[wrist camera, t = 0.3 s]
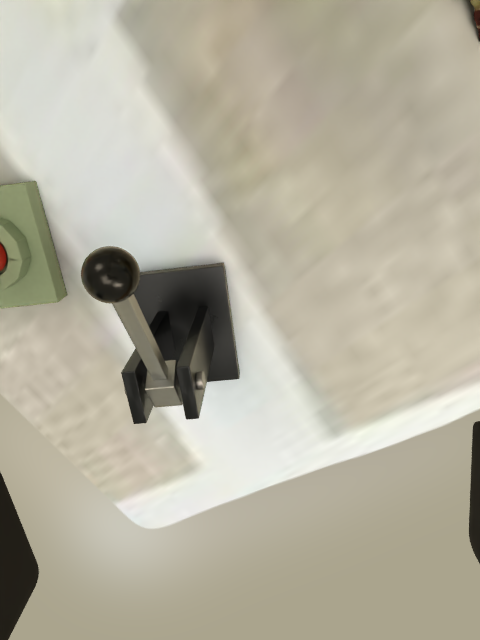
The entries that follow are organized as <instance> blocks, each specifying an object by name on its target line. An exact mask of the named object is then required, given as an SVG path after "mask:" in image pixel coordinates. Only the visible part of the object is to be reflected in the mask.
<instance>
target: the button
mask: <svg viewBox="0 0 480 640" xmlns="http://www.w3.org/2000/svg"><path fill="white" fill-rule="evenodd" d="M5 264H6V253H5V250H4V248H3V246H2V245H1V244H0V271H2V270H3V268H4V267H5Z"/></svg>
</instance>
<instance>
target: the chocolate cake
mask: <svg viewBox="0 0 480 640" xmlns="http://www.w3.org/2000/svg"><path fill="white" fill-rule="evenodd" d="M470 1H471V4H472V5H473V6H474V9H475V11H474V20H475V22H476V27H477V29H478V33H479V39H480V0H470Z"/></svg>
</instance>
